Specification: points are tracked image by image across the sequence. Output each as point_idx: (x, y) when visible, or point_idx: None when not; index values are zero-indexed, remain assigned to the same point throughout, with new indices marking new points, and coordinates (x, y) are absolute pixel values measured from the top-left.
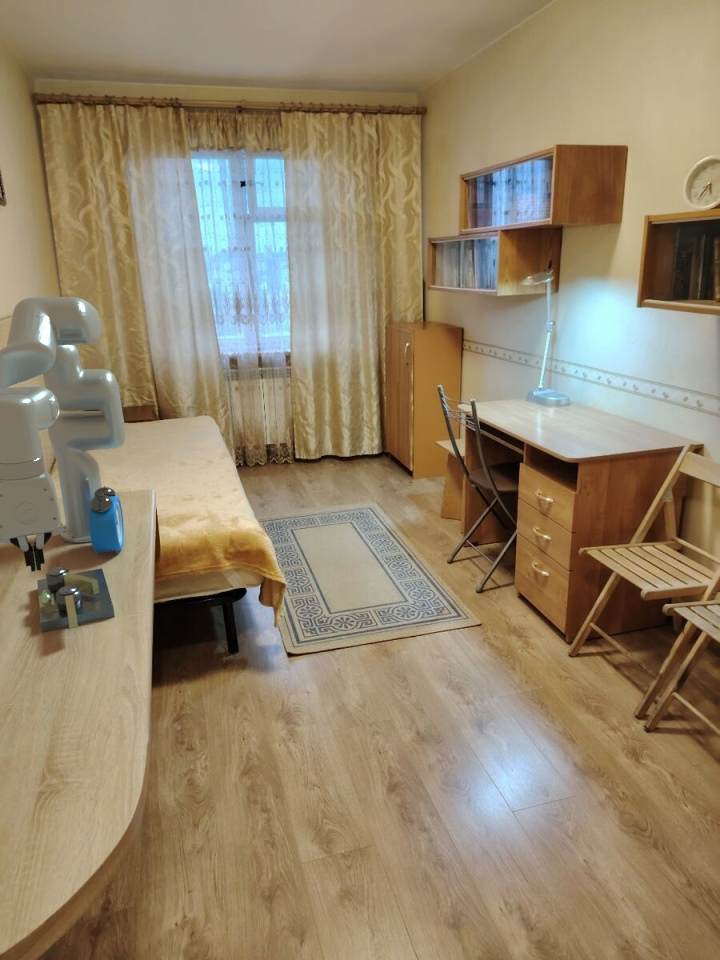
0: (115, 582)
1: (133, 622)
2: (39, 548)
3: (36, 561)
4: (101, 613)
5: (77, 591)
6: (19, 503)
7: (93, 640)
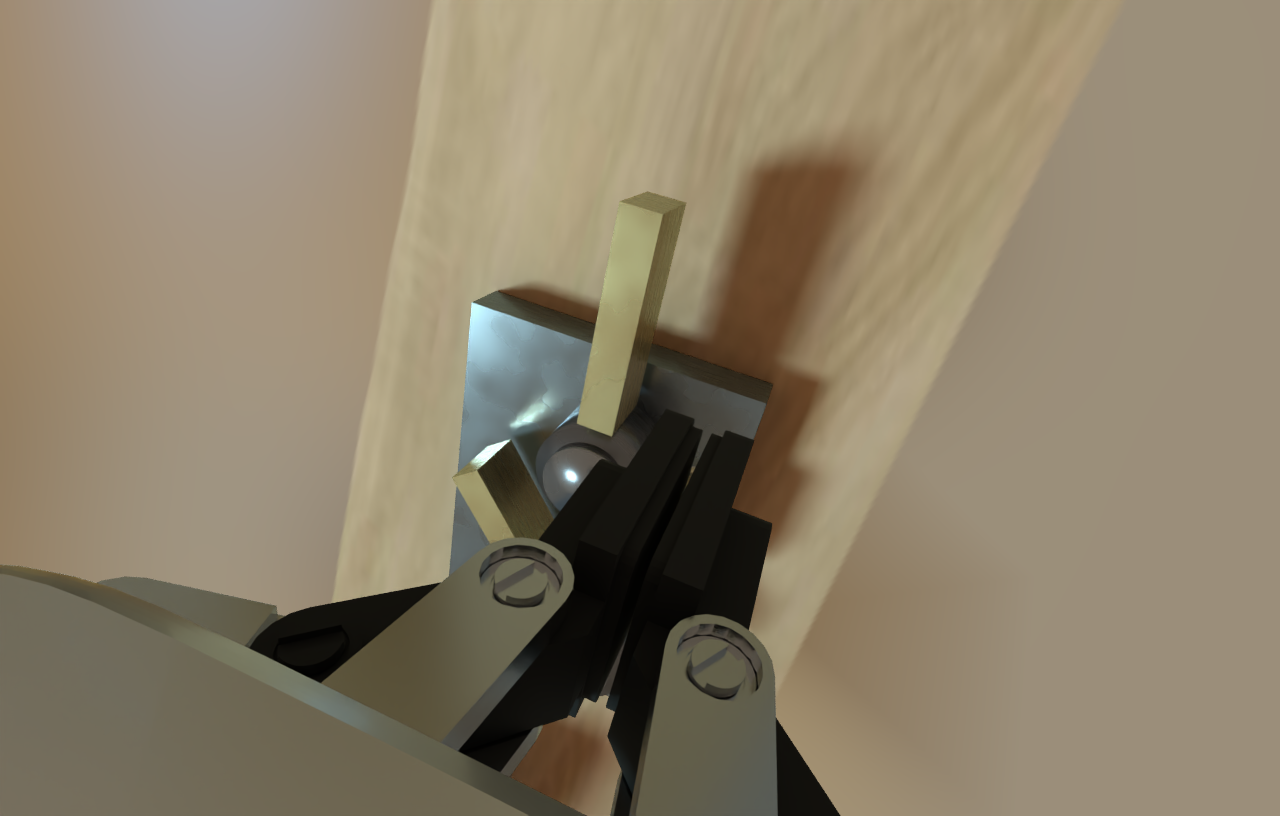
0: (439, 534)
1: (444, 185)
2: (551, 554)
3: (667, 472)
4: (528, 314)
5: (551, 450)
6: None
7: (622, 144)
